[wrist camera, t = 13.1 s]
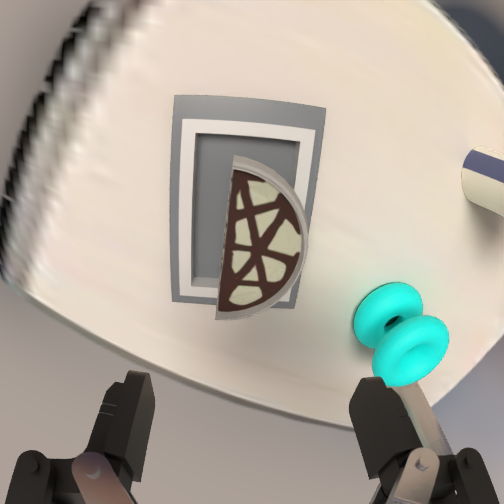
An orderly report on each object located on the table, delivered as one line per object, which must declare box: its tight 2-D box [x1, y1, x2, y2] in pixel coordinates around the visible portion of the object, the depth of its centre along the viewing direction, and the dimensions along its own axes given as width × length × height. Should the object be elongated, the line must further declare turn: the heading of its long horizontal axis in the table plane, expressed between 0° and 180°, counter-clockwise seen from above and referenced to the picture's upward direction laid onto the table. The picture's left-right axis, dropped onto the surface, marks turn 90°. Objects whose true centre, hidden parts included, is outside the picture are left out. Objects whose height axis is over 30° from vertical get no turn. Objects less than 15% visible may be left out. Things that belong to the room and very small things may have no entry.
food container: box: [215, 155, 308, 320], centre depth 25 cm, size 12×6×10 cm, turn 172°
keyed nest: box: [170, 95, 326, 309], centre depth 29 cm, size 22×14×3 cm, turn 175°
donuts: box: [354, 283, 449, 387], centre depth 32 cm, size 10×10×10 cm
